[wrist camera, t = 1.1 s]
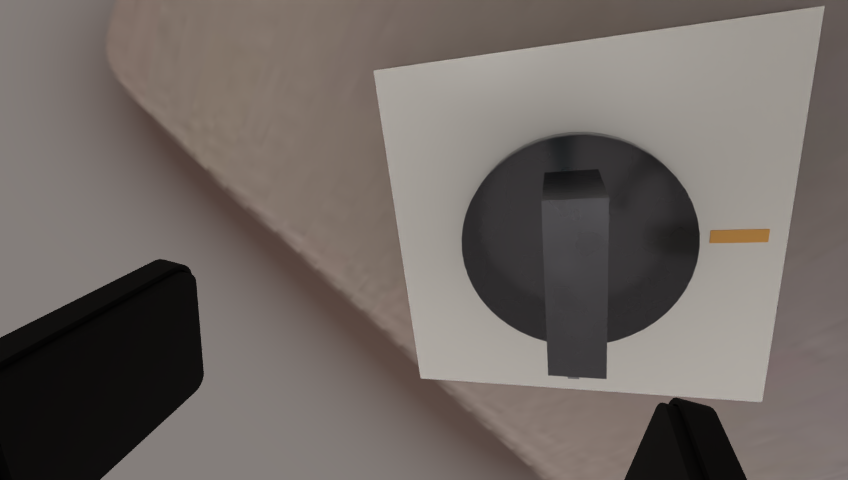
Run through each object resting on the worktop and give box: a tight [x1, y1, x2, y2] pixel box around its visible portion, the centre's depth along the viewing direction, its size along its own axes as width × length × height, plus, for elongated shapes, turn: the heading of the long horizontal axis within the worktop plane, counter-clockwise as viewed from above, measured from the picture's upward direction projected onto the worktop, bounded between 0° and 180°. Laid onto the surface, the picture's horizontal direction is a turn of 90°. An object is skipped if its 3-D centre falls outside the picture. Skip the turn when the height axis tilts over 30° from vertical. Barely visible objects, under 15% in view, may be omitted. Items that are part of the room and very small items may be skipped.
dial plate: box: [374, 6, 825, 402], centre depth 30 cm, size 24×24×2 cm
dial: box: [462, 132, 700, 379], centre depth 26 cm, size 14×14×8 cm
